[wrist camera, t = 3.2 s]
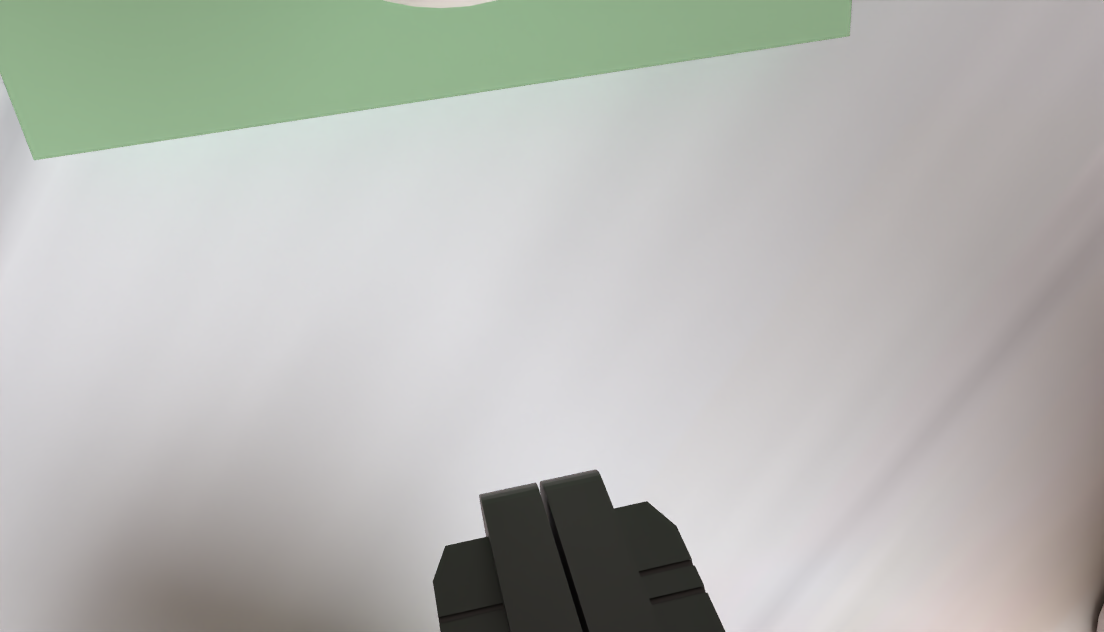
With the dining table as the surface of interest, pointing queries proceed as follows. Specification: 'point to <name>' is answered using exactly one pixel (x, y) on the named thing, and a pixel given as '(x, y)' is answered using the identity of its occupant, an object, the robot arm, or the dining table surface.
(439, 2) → the ball
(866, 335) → the dining table surface
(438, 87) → the green
